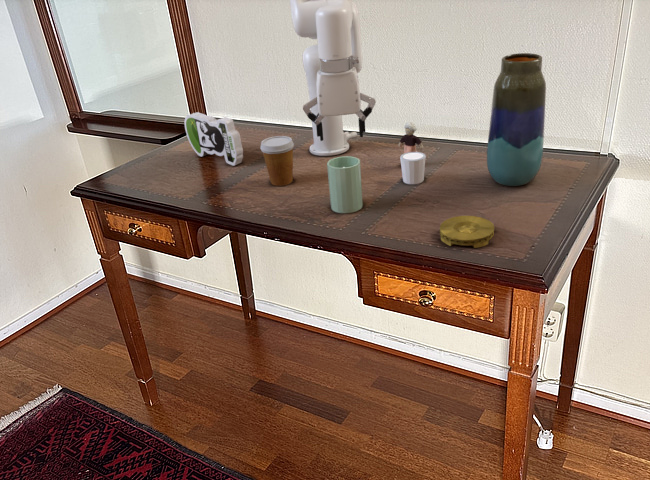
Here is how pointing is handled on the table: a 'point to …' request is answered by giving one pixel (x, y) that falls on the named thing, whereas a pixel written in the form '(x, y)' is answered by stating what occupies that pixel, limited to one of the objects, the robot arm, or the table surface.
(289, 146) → the disposable coffee cup
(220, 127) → the cutout
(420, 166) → the shot glass
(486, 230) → the compass
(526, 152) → the vase
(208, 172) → the table surface
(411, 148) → the grandmother figurine
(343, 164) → the tube
